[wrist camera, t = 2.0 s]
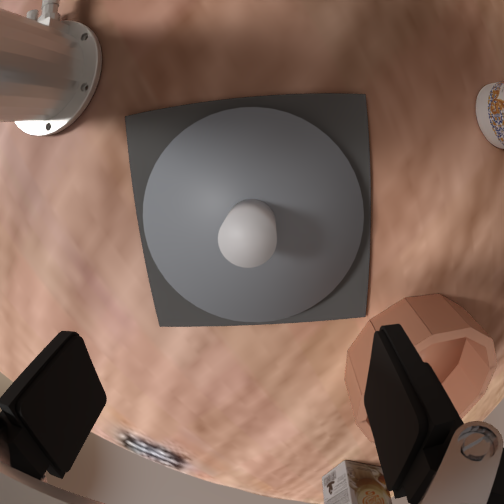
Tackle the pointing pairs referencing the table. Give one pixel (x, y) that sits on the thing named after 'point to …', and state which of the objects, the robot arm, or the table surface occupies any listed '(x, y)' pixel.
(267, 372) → the table surface
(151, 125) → the mat
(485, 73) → the table surface
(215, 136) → the lid
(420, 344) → the bowl
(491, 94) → the bath foam
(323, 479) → the coffee box
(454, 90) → the table surface
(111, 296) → the table surface
